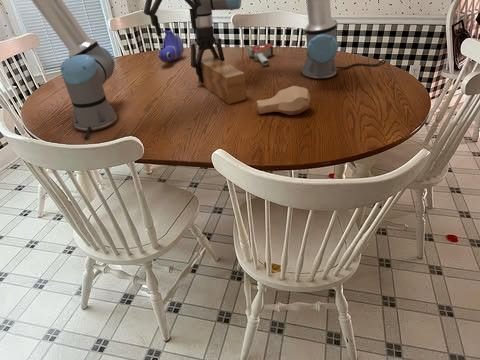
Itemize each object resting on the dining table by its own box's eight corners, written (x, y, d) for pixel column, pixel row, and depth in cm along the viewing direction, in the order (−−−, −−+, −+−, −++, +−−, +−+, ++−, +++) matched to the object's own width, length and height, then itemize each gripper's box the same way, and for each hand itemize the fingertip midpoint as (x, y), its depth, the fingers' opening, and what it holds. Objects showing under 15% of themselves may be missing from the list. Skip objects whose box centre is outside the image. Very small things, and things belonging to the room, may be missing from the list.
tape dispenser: (265, 70, 173) (284, 55, 186) (265, 59, 170) (284, 45, 183) (235, 63, 181) (255, 50, 193) (235, 53, 177) (255, 40, 190)
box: (245, 99, 143) (244, 73, 137) (228, 104, 140) (226, 77, 134) (213, 78, 165) (211, 54, 158) (198, 82, 162) (195, 58, 155)
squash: (314, 116, 128) (313, 95, 122) (259, 125, 130) (256, 105, 124) (308, 99, 136) (307, 78, 129) (257, 108, 138) (253, 88, 131)
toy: (171, 62, 199) (152, 68, 177) (167, 30, 192) (146, 32, 170) (188, 61, 197) (171, 67, 175) (184, 29, 190) (166, 30, 168)
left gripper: (196, -42, 122) (204, 24, 134) (124, -34, 113) (139, 36, 125) (205, -41, 116) (212, 27, 129) (131, -32, 107) (146, 40, 120)
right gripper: (222, 20, 152) (226, 72, 166) (177, 28, 145) (185, 82, 158) (230, 23, 147) (234, 77, 160) (184, 32, 139) (191, 87, 153)
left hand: (176, 32), depth 127 cm, fingers open, 13 cm apart
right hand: (209, 79), depth 159 cm, fingers closed on box, 8 cm apart
